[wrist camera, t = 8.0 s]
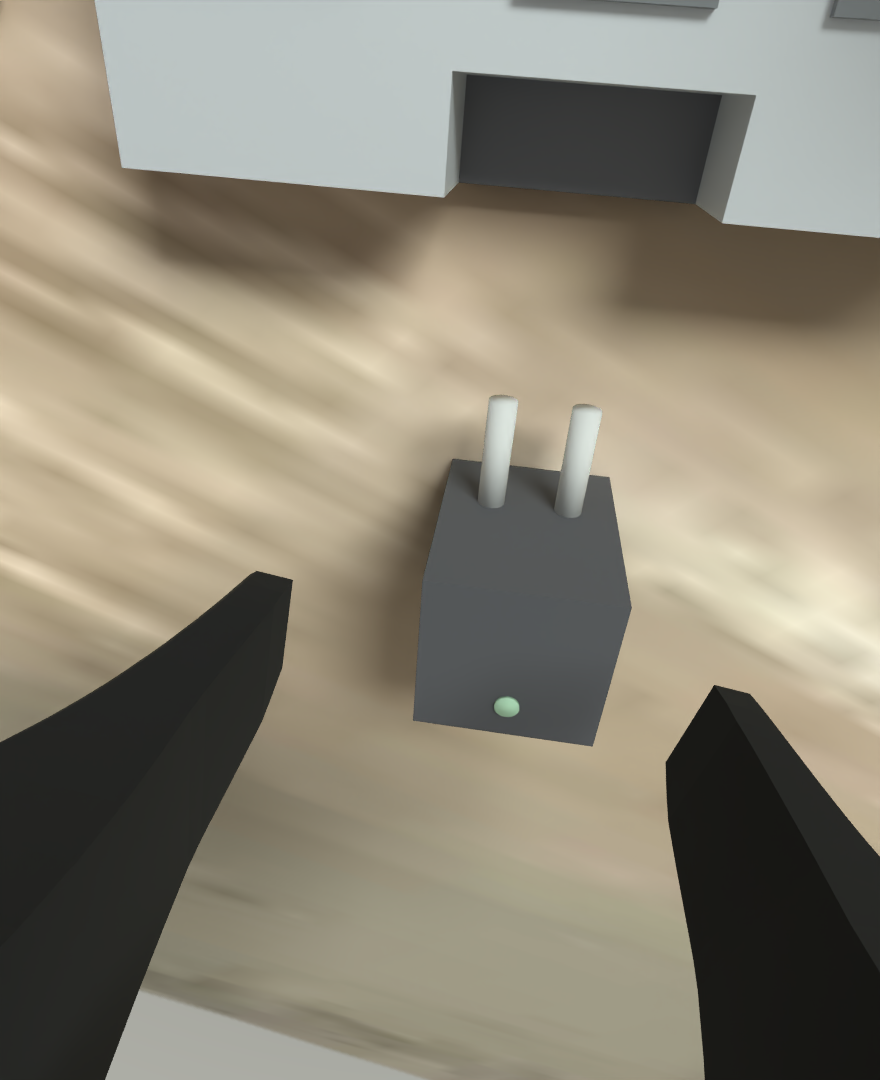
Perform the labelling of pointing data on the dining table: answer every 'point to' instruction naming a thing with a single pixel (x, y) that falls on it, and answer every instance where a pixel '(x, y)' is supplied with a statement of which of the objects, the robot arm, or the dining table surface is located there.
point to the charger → (523, 591)
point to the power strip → (514, 98)
